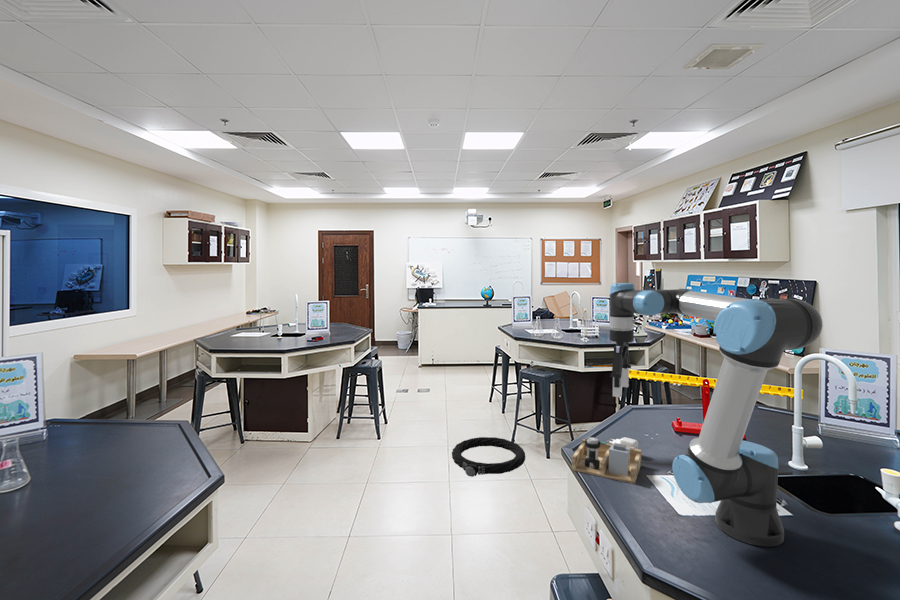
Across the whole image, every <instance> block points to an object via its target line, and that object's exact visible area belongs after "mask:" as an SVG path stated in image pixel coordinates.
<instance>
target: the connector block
mask: <svg viewBox="0 0 900 600" xmlns="http://www.w3.org/2000/svg"><path fill="white" fill-rule="evenodd" d="M629 471H630V448H626V445H622V444H617V443H615V444H614V445H611V447H610V449H609V472H610V473H615V474H619V475H624V476H628V474H629Z"/></svg>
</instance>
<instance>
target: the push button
mask: <svg viewBox="0 0 900 600" xmlns="http://www.w3.org/2000/svg"><path fill="white" fill-rule="evenodd" d="M601 442H602V441H601ZM601 442H600V440H599V439H598V438H596V437H593V436H589V437H587V438H586V440H585V446H586V447H587V456H586V459H585V460H581V461H583V462H585V463H582V462H581V464H585V466H586V467H590V468H595V469H597V470H598V469H599V467H600V460H599V458H598V448H599V447H600V444H601ZM595 449H596V453H595ZM589 452H590V453H589Z"/></svg>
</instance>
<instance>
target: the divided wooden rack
mask: <svg viewBox="0 0 900 600" xmlns="http://www.w3.org/2000/svg"><path fill="white" fill-rule="evenodd" d="M585 440H587V438H586V439H585V438H582V439H581V444H580V445H579V446H578V448H577V449H576V450H575V452H574V454H573V455H572V456H571V471H574V472H579V473H583V474H588V475H592V476H596V477H601V478H606V479H609V480H610V479H611V480H615V481H618V482H619V481H620V482H623V483H628V484H632V485H636V481H637V478H638V475H639V472H640V470H641V466H642V449H639V448H638V449H635V448H634V447H628V446H626V448H630V471H629V474H628V476H624V475H619V474H615V473H610V472H609V449H610V447H611V445H613V444H612V443H609V442H607V441H606V442H605V441H600V440H599V441H600V442H601V444H600V447H599V448H598V458H599V460H600V467H599V469H598V470H597V469H595V468H590V467H586V466H585V464H581V462H582V463H585V462H583V461H581V460H585V459H586V456H587V447H586V446H585ZM589 453H590V452H589ZM595 453H596V449H595Z"/></svg>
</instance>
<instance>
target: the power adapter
mask: <svg viewBox="0 0 900 600" xmlns="http://www.w3.org/2000/svg"><path fill="white" fill-rule="evenodd" d="M606 443H608V444H613V445H614V444H615V443H617V444H622V445H626V446H628V447H634V448H635V449H639V441H638V440H637V439H634V438H630V437H626V436H624V437H621V438H616V439H614V438H611V437H610V438H609V440H608V439H607V440H606Z"/></svg>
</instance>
